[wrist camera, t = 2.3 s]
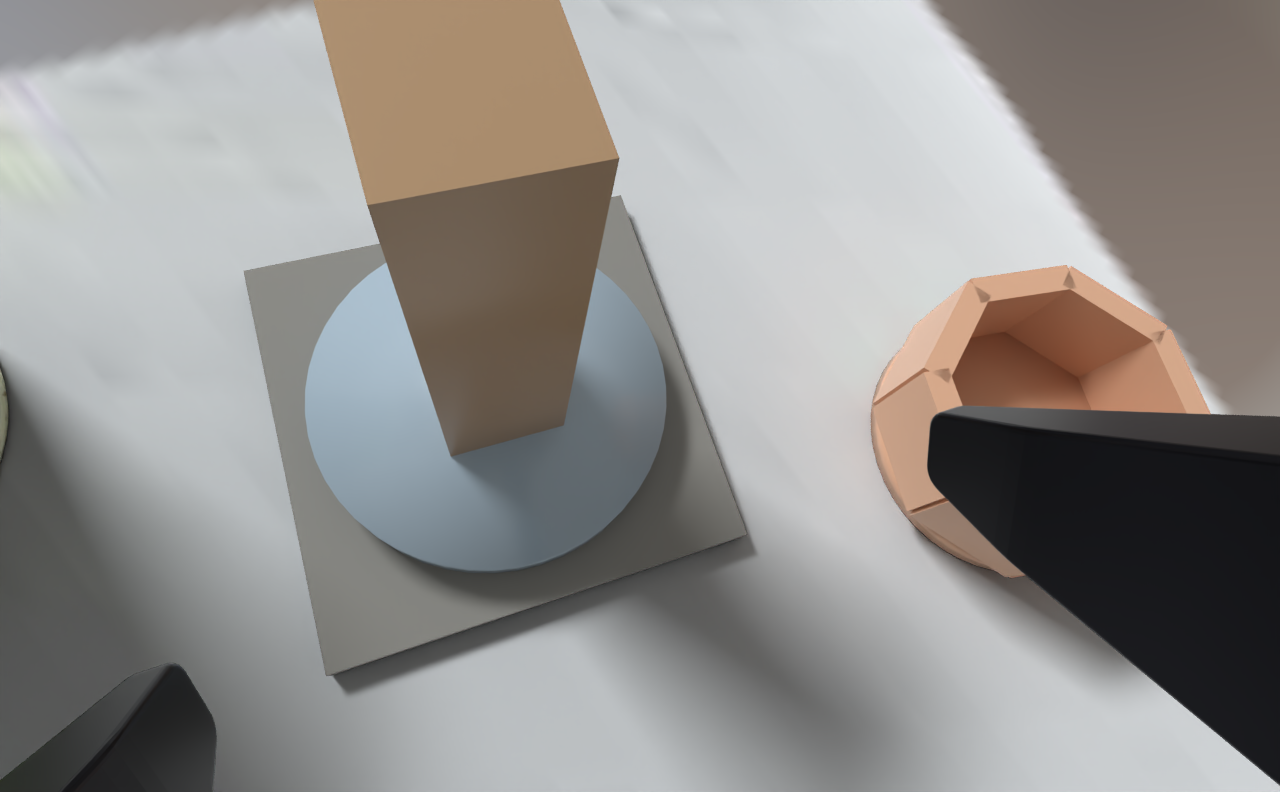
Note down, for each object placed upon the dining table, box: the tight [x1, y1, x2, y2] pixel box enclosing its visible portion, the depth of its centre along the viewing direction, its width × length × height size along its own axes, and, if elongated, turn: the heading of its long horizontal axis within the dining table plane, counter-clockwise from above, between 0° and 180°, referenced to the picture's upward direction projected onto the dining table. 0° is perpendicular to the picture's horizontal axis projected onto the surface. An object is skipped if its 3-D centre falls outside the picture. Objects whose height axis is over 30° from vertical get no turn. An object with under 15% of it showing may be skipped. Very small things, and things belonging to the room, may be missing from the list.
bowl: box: [871, 265, 1211, 578], centre depth 23 cm, size 9×9×4 cm
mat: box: [244, 195, 747, 676], centre depth 22 cm, size 12×12×1 cm
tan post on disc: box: [305, 0, 666, 573], centre depth 16 cm, size 10×10×13 cm
